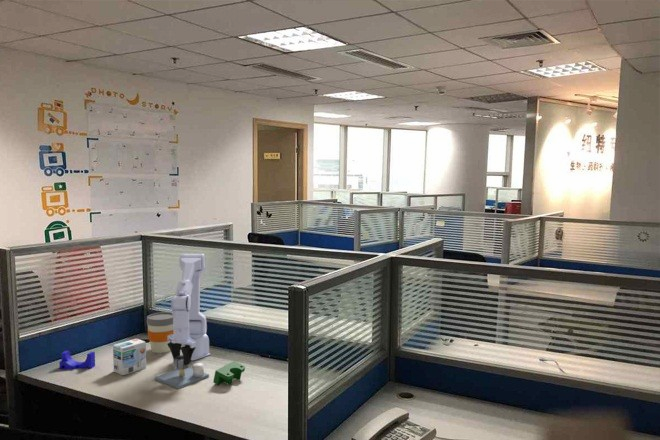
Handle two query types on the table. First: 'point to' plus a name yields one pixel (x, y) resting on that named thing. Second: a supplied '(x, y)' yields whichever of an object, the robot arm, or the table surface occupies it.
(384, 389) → the table surface
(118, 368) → the light bulb box
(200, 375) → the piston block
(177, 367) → the ring
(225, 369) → the clamp
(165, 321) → the reusable coffee cup
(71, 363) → the cable clip
